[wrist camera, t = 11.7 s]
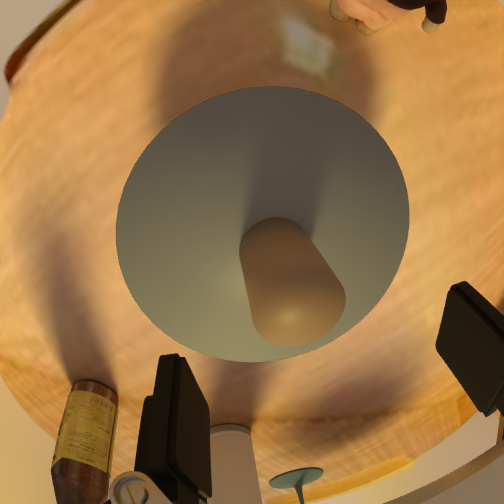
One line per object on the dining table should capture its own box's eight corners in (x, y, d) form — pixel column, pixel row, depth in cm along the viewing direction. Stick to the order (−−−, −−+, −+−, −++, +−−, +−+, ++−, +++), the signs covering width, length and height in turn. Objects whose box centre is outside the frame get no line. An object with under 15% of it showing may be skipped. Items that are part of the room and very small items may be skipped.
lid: (373, 63, 13) (452, 54, 7) (402, 302, 20) (447, 359, 15) (75, 156, 13) (8, 189, 8) (190, 373, 21) (191, 447, 15)
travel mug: (192, 430, 35) (201, 570, 17) (238, 418, 34) (262, 566, 17) (214, 448, 38) (228, 571, 20) (257, 437, 37) (281, 565, 19)
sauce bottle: (64, 375, 28) (24, 529, 11) (110, 377, 29) (83, 549, 11) (85, 408, 31) (61, 546, 14) (128, 411, 32) (116, 559, 14)
